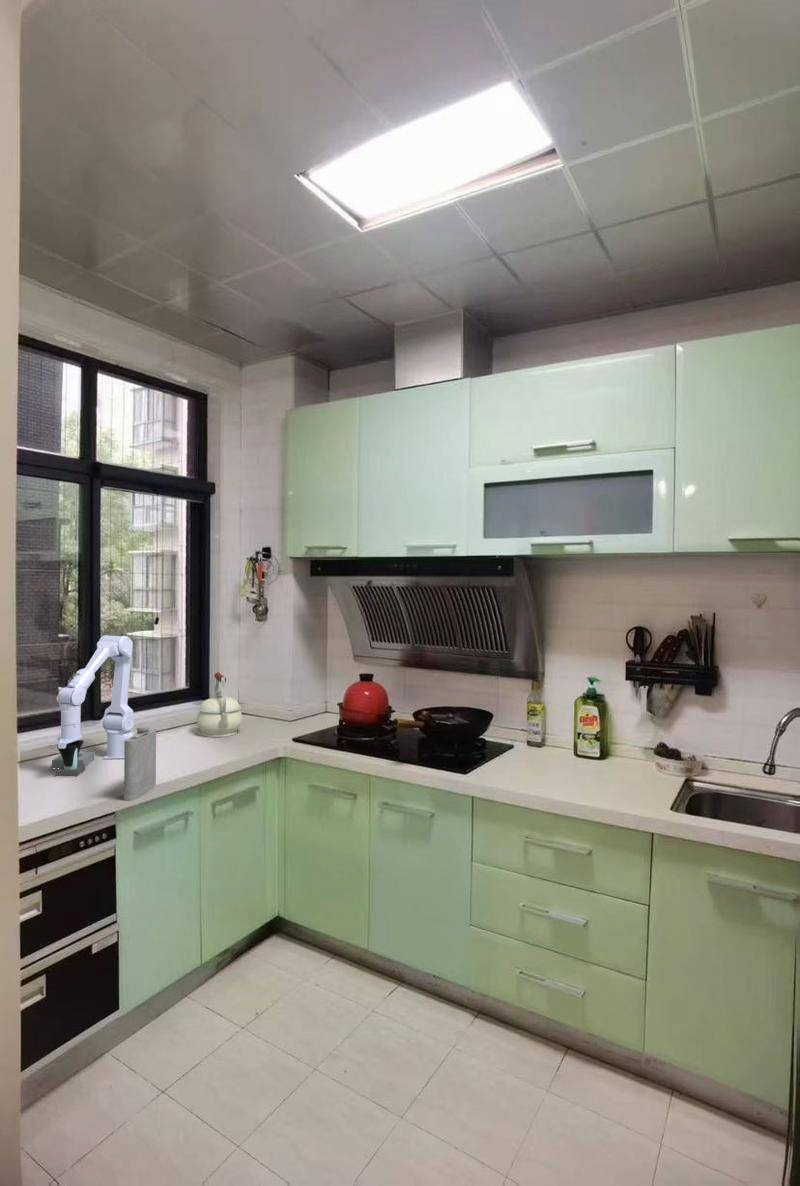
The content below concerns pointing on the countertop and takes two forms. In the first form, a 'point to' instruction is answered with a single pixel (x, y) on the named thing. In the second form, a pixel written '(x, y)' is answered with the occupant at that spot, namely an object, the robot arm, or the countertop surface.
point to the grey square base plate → (70, 771)
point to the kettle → (219, 713)
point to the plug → (73, 762)
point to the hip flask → (139, 763)
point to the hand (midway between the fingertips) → (70, 764)
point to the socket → (82, 759)
